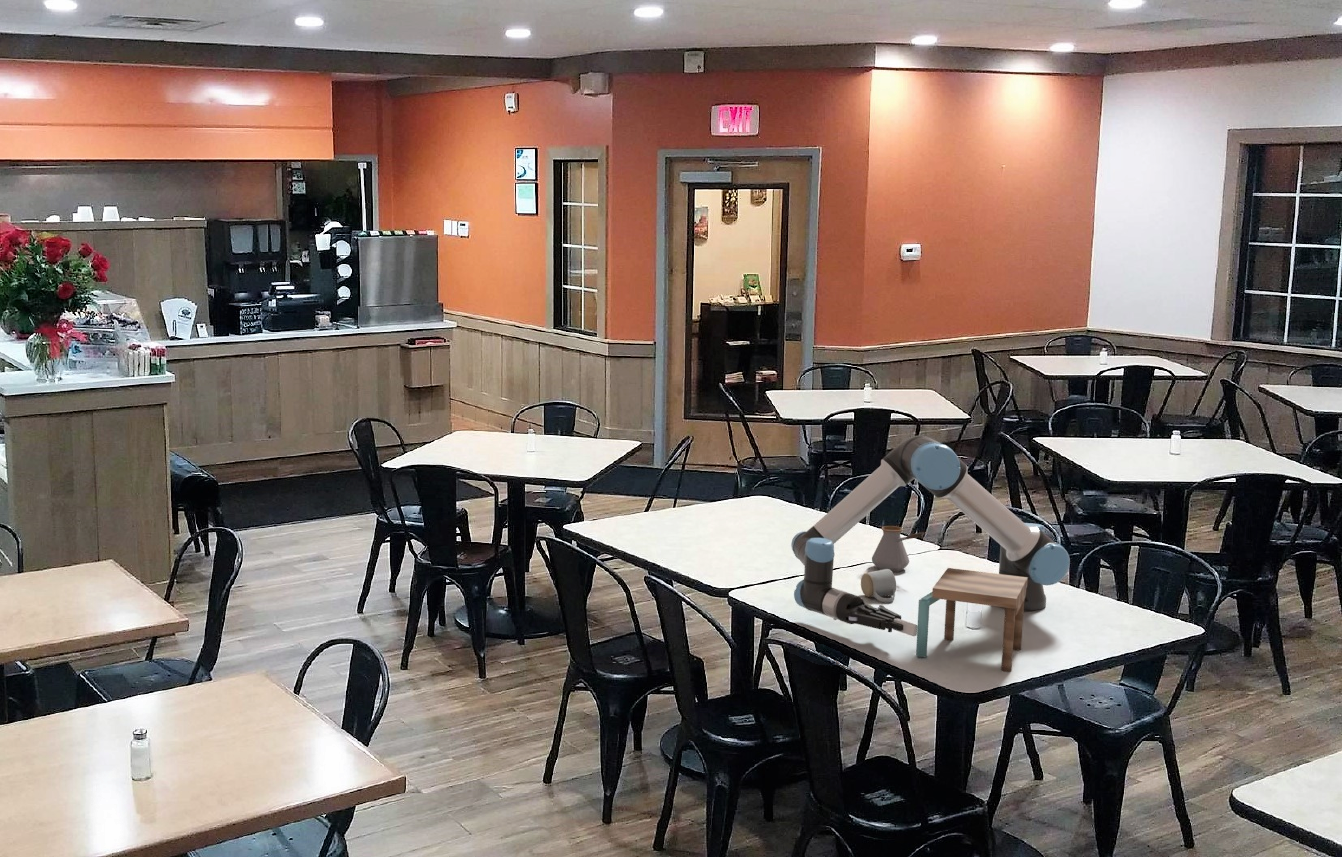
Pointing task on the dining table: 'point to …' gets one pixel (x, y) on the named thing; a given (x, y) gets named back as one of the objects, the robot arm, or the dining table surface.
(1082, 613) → the dining table surface
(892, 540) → the coffee pot
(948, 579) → the stool
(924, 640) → the folding leg
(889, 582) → the ceramic mug
